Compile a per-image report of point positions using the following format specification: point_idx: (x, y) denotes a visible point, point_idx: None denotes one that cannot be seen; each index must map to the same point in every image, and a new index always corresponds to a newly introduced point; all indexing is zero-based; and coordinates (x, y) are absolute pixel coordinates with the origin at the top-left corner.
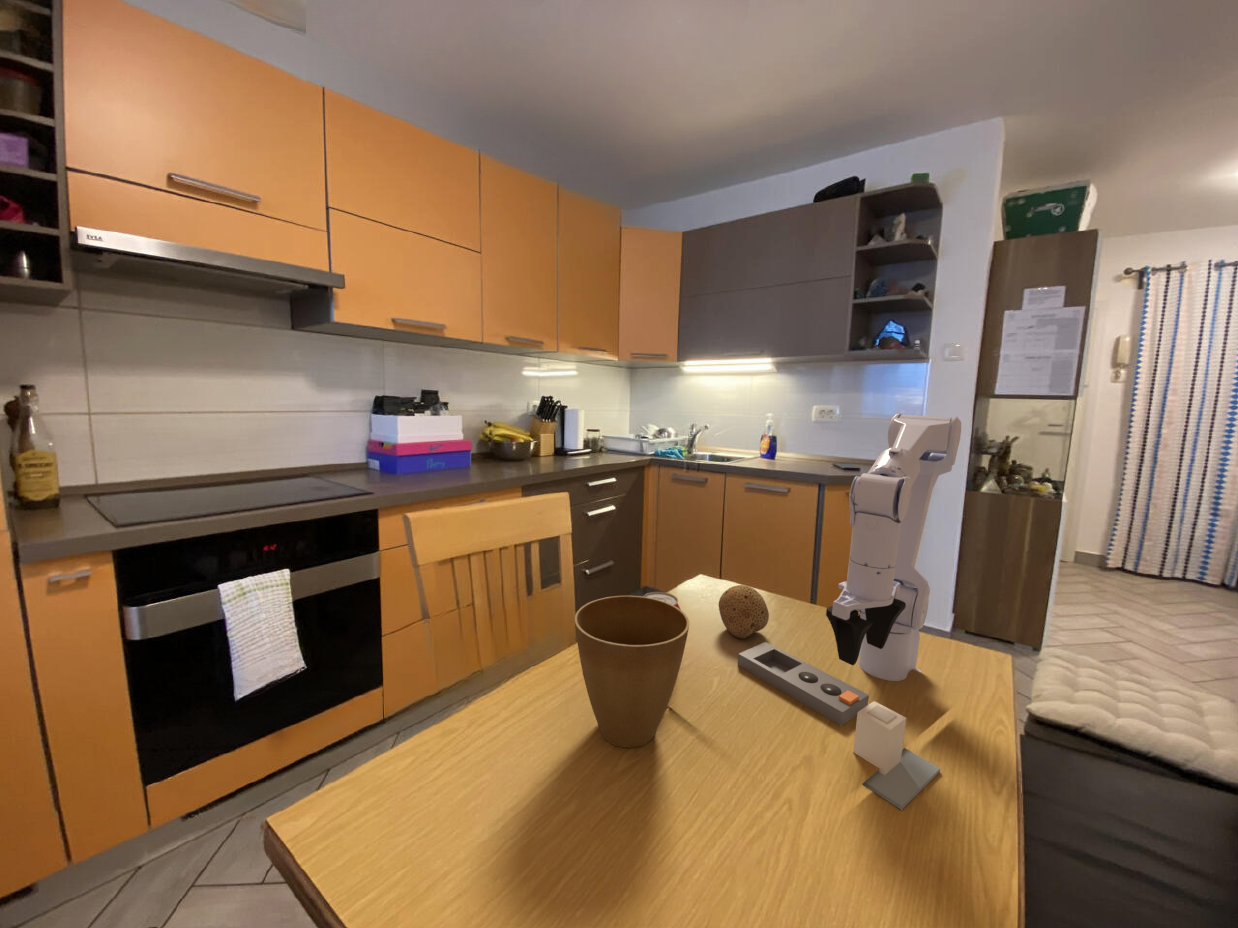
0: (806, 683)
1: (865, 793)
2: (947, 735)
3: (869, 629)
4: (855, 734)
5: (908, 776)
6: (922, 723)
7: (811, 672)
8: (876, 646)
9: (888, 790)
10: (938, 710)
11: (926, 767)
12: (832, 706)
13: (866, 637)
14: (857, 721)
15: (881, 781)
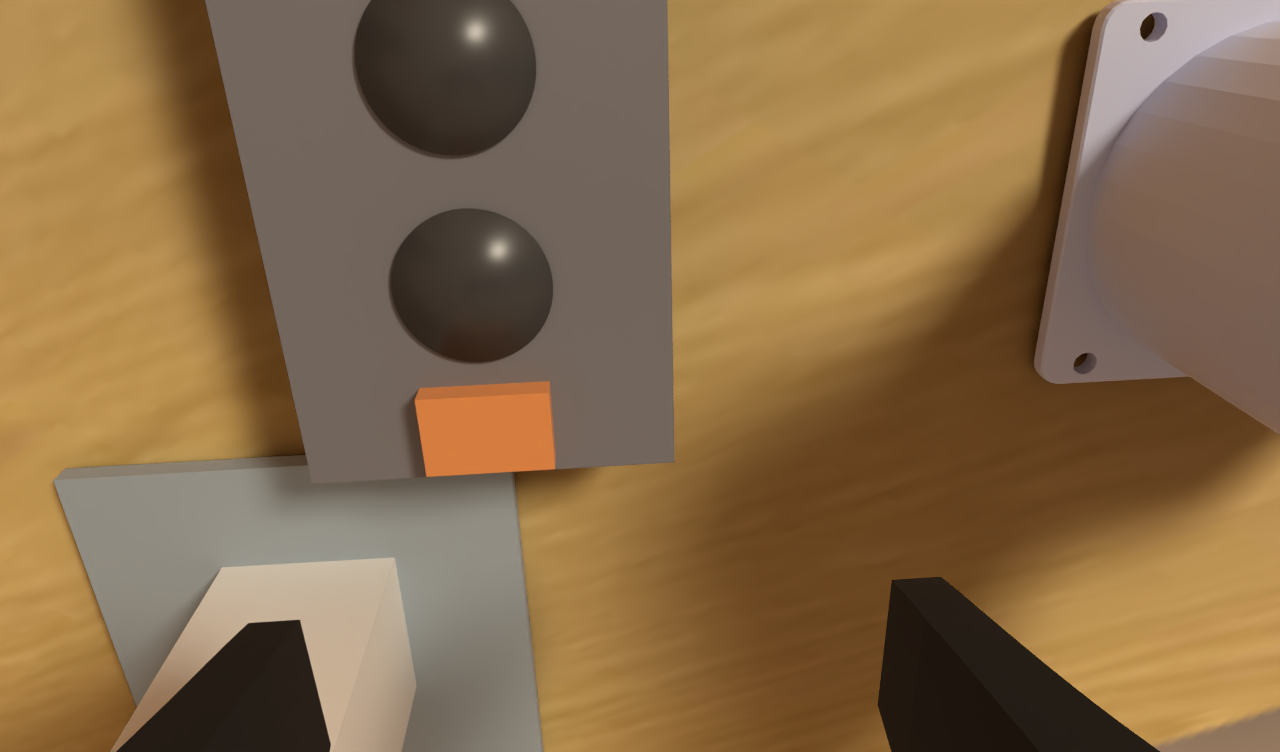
0: (353, 117)
1: (103, 686)
2: (841, 671)
3: (972, 724)
4: (166, 659)
5: None
6: (842, 580)
7: (548, 26)
8: (881, 675)
9: None
10: (1038, 568)
11: (489, 747)
12: (297, 415)
13: (920, 609)
14: (126, 731)
15: None
